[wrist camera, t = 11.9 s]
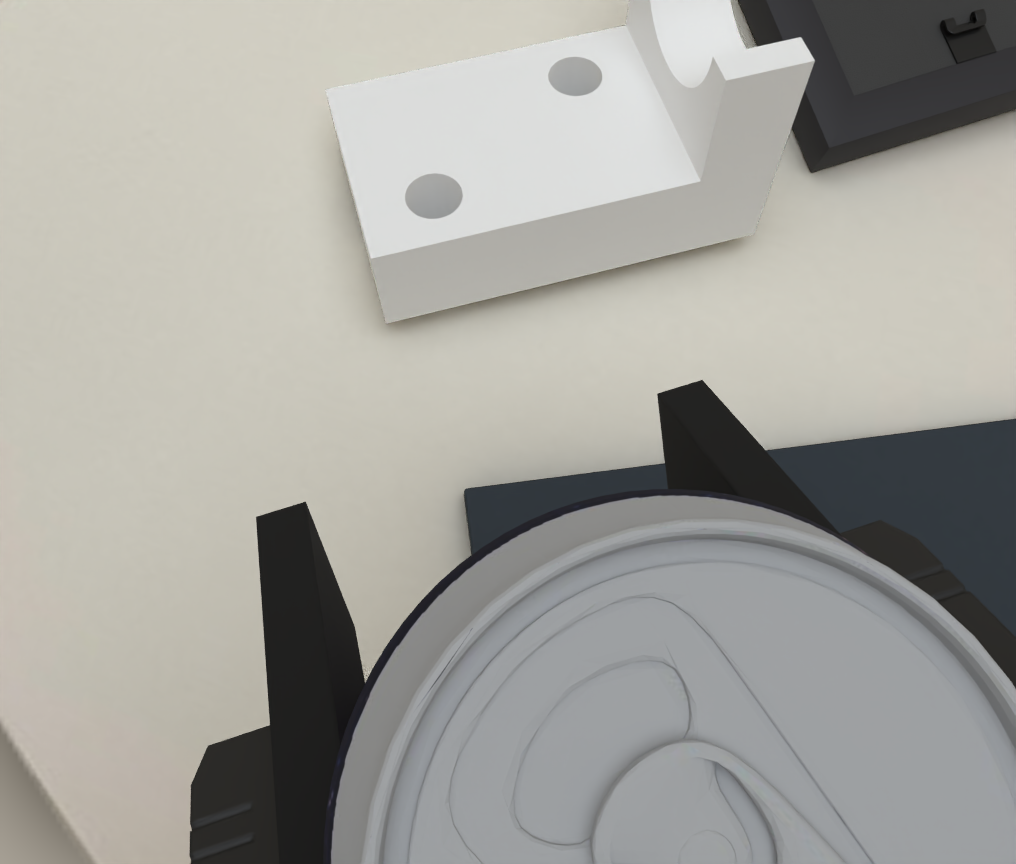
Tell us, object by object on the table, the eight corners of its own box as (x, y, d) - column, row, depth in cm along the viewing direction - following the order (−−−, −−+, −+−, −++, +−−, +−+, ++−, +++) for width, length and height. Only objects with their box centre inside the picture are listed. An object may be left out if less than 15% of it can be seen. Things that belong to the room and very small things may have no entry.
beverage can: (554, 509, 19) (717, 305, 7) (761, 725, 18) (1318, 893, 6) (337, 717, 18) (108, 881, 6) (549, 953, 17) (750, 1649, 5)
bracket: (682, 88, 36) (719, -101, 29) (754, 234, 33) (814, 61, 26) (343, 164, 34) (299, -17, 28) (386, 323, 31) (348, 164, 25)
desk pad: (551, 1175, 27) (555, 1197, 26) (463, 492, 31) (463, 488, 30) (1314, 1030, 29) (1348, 1045, 28) (1144, 406, 33) (1167, 398, 32)
